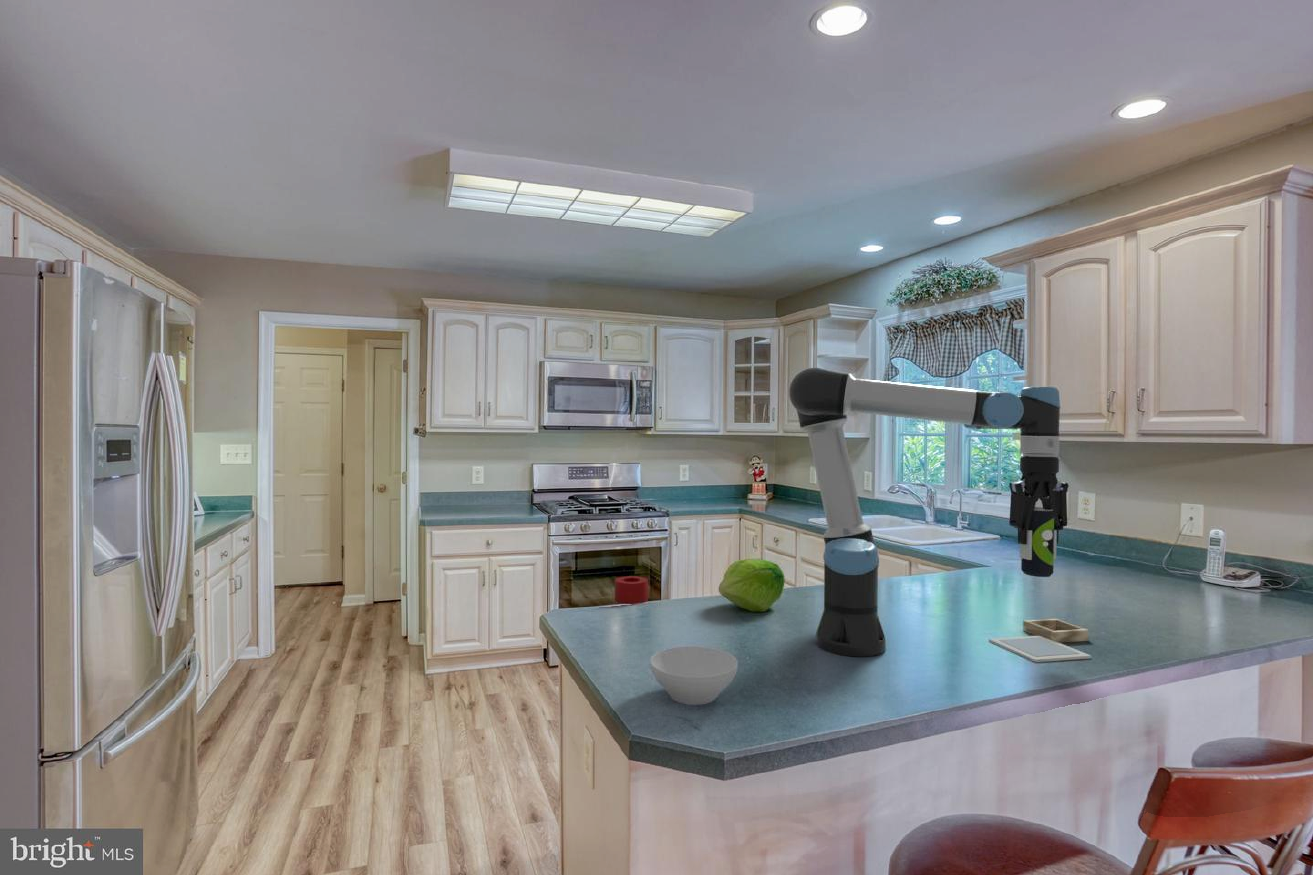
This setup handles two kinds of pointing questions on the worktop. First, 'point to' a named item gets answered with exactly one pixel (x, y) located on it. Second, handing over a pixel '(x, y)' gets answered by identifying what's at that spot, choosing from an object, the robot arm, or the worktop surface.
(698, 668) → the bowl
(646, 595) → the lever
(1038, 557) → the beverage can
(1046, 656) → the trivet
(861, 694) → the worktop surface
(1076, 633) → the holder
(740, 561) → the lettuce
